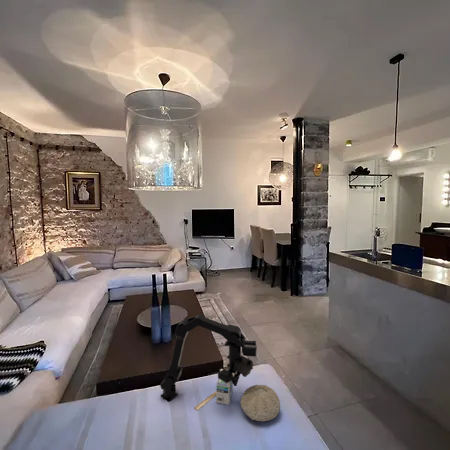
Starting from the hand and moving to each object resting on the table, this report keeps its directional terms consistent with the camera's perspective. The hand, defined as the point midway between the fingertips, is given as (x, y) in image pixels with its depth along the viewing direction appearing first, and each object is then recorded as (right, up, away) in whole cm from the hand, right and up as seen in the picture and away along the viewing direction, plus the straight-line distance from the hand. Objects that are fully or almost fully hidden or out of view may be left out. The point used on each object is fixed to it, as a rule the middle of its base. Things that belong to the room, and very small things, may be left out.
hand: (235, 385), depth 130 cm
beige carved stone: (+11, -9, -5) cm, 16 cm away
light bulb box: (-5, -9, +5) cm, 11 cm away
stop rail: (-10, -9, +7) cm, 15 cm away
